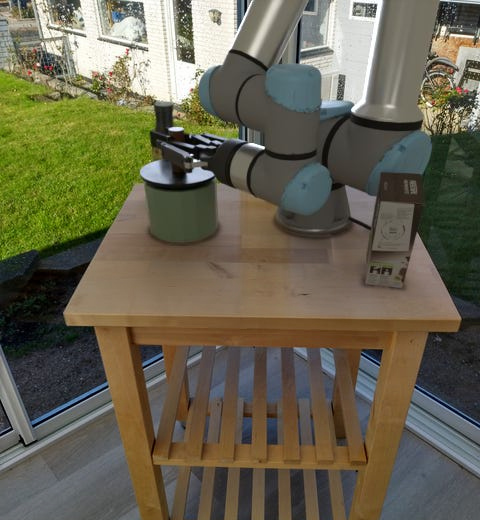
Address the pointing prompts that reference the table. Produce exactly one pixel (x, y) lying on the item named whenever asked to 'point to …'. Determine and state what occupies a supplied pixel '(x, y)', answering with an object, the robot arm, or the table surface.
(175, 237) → the pot
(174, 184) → the lid
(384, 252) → the coffee box
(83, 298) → the table surface
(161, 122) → the sauce bottle
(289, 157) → the robot arm
